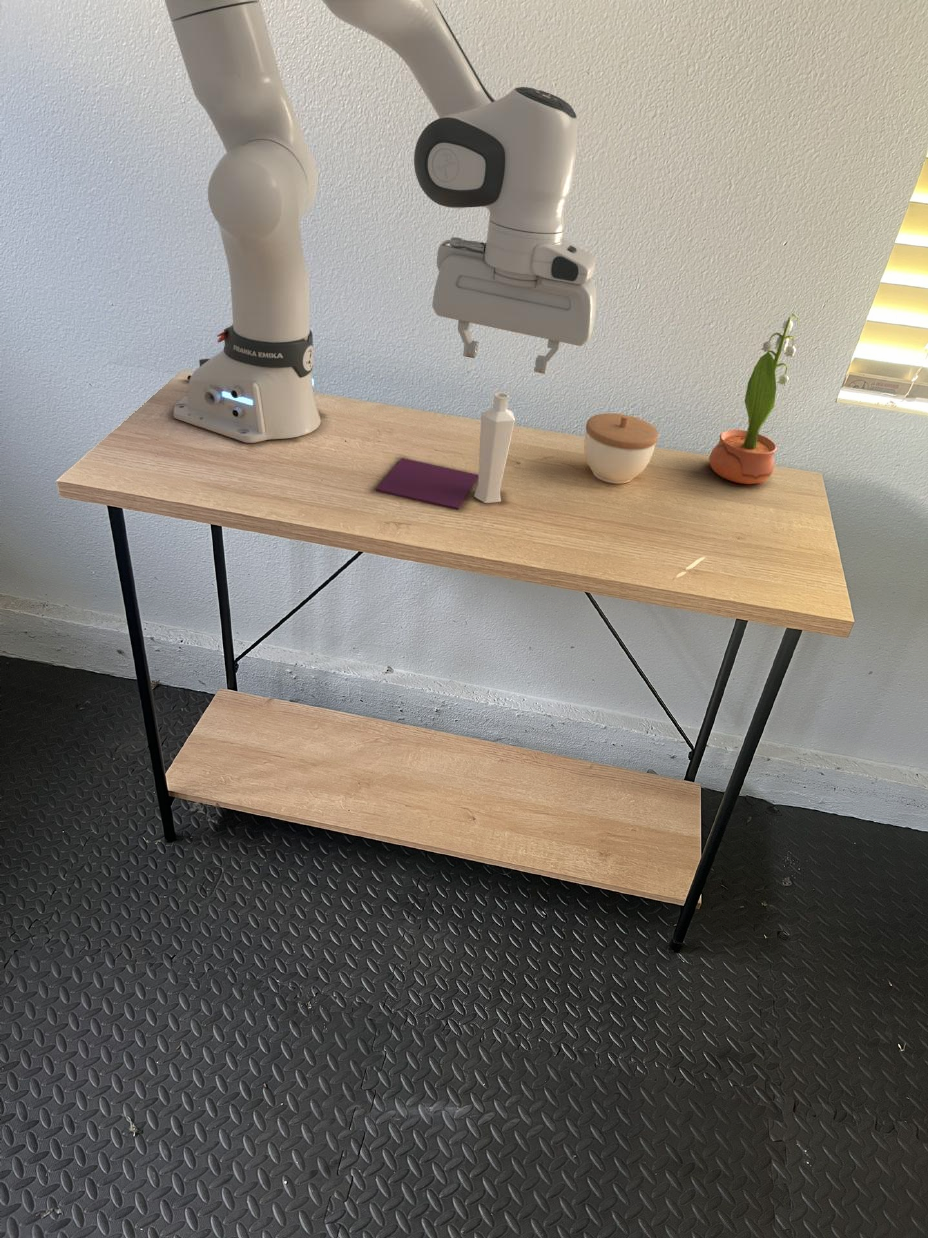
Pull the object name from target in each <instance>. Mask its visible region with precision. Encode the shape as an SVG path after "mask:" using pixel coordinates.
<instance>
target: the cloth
mask: <svg viewBox="0 0 928 1238" xmlns="http://www.w3.org/2000/svg"><path fill="white" fill-rule="evenodd" d="M478 476H479V474H476V473H472V472H468V471H462V470H457V469H454V468H449V467H444V466H440V465H436V464H430V463H426V462H422V461H417V460H413V459H408V458H404V457H402V458H401V459H400V460H399V461H398V462H397V464H396V465H395V466H394V467H393V468H392V469H391V471H390V472H389V473H388V474H387V475H386V476H385V477H384V479H383V480H382V481H381V482H380V483H379V484H378V485H377V486H376V488H375V491H376V492H380V493H385V494H389V495H393V496H398V497H402V498H407V499H410V500H414V501H419V502H423V503H427V504H431V505H437V506H441V507H446V508H450V509H453V510H454V509H455V510H459V509H460V507H461V505H462V504H463V502H464V500H465V499H466V497H467V496H468V494H469V493H470V491H471V490H472V488H473V486H475V484H476V482H477V480H478Z"/></svg>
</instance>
